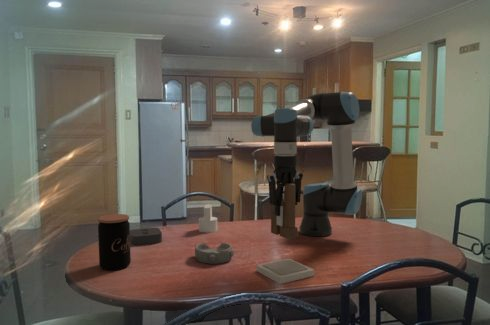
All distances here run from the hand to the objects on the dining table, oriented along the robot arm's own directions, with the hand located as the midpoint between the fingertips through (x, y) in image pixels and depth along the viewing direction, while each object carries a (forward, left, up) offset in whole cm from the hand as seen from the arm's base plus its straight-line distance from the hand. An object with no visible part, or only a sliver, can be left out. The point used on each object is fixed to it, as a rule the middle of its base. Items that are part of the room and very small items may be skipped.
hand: (285, 224), depth 137 cm
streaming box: (-63, -29, -17) cm, 71 cm away
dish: (-26, -14, -17) cm, 34 cm away
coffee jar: (-37, -48, -17) cm, 63 cm away
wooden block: (-1, 0, -4) cm, 4 cm away
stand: (0, 0, -17) cm, 17 cm away
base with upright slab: (-65, +2, -17) cm, 67 cm away
